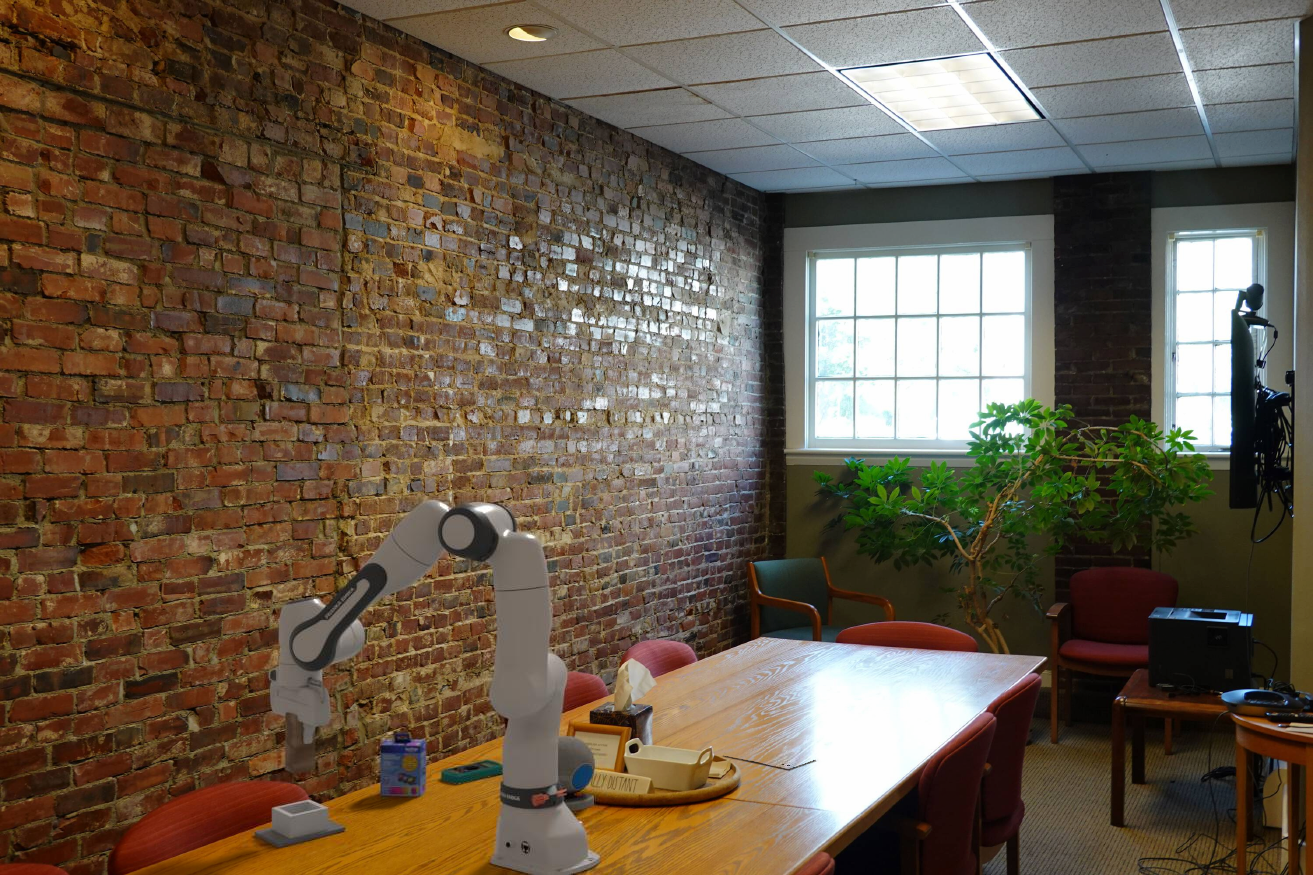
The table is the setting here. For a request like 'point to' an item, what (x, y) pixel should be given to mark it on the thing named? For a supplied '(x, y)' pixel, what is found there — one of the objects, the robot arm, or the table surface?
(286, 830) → the dock
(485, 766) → the digital multimeter
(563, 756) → the webcam
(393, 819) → the table surface
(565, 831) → the robot arm
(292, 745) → the peg
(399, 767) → the ink cartridge box
